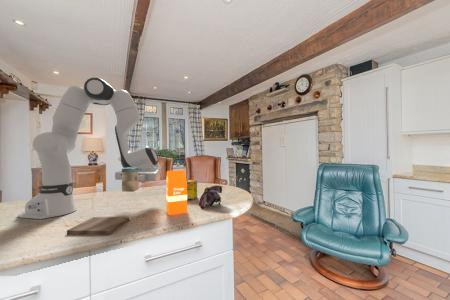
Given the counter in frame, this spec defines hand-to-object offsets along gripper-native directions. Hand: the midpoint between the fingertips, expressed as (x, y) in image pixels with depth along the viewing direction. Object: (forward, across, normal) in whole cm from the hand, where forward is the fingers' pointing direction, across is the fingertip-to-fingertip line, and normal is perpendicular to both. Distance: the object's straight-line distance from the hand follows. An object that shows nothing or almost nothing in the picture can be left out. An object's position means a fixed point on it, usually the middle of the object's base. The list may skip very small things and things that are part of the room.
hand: (129, 178), depth 91 cm
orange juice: (-9, +19, +18) cm, 27 cm away
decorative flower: (-19, +34, +18) cm, 43 cm away
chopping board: (+11, -6, +18) cm, 22 cm away
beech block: (-1, 0, +6) cm, 6 cm away
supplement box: (-33, +20, +18) cm, 43 cm away
